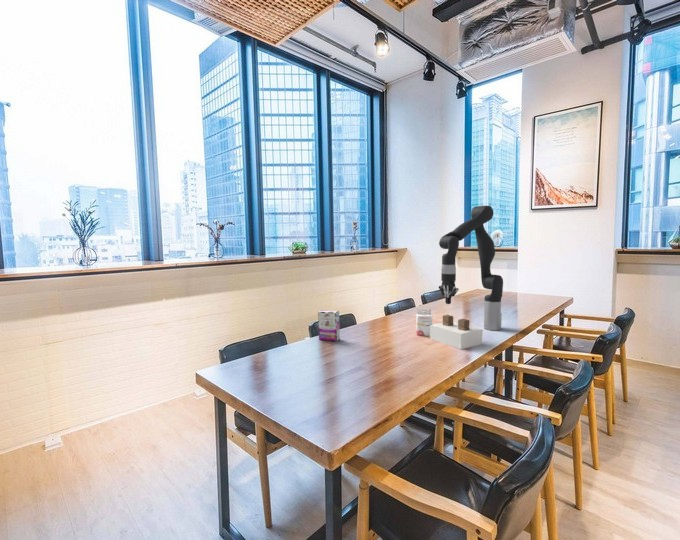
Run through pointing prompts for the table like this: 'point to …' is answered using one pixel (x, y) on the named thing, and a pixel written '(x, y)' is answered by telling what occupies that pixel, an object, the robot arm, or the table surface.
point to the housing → (456, 335)
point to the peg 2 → (463, 324)
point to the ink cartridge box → (423, 322)
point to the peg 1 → (447, 320)
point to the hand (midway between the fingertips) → (448, 303)
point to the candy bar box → (329, 325)
